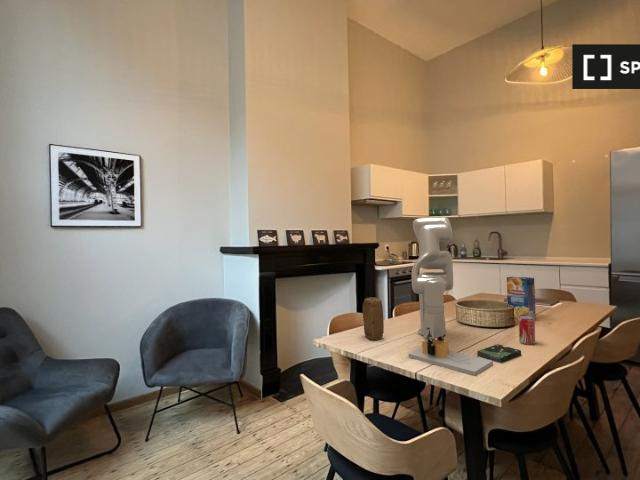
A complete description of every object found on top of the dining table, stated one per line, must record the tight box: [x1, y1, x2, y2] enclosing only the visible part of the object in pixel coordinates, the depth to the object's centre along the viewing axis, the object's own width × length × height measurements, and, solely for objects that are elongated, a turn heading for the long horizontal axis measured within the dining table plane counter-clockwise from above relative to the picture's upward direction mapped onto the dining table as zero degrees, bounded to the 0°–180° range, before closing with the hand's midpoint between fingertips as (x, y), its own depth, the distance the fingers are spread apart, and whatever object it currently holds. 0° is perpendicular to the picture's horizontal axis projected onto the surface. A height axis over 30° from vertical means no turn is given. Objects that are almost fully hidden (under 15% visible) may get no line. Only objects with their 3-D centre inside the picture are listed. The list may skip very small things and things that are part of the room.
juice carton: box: [506, 275, 537, 321], centre depth 199 cm, size 12×8×24 cm, turn 30°
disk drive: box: [477, 343, 522, 364], centre depth 141 cm, size 10×3×15 cm
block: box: [362, 296, 385, 341], centre depth 172 cm, size 11×8×20 cm
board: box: [407, 347, 494, 377], centre depth 137 cm, size 15×28×2 cm, turn 41°
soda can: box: [518, 316, 536, 346], centre depth 155 cm, size 6×6×12 cm
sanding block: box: [421, 339, 450, 358], centre depth 141 cm, size 6×9×5 cm, turn 50°
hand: (435, 352), depth 141 cm, fingers closed on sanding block, 6 cm apart
